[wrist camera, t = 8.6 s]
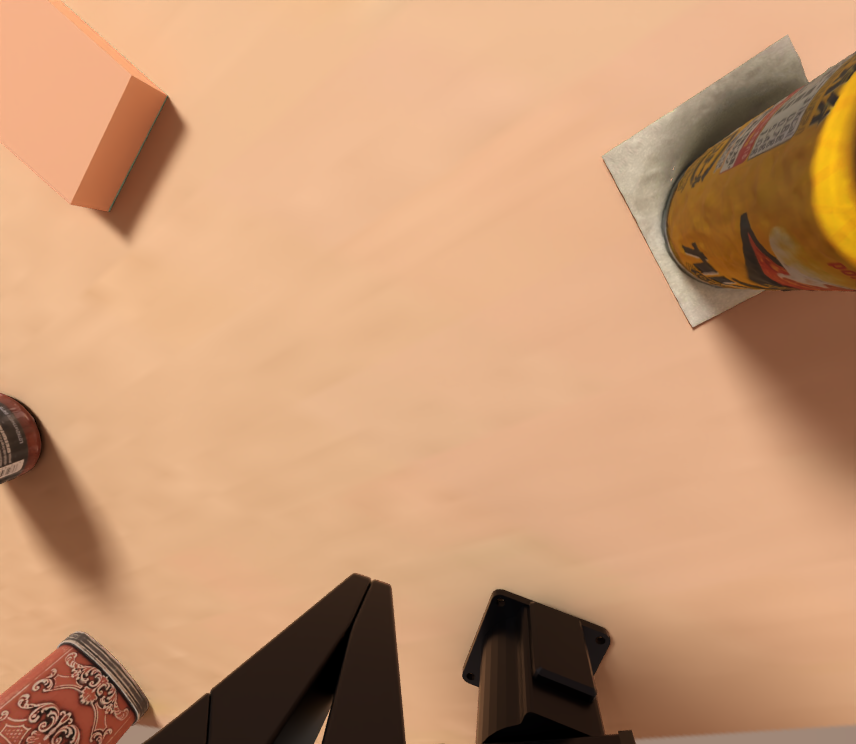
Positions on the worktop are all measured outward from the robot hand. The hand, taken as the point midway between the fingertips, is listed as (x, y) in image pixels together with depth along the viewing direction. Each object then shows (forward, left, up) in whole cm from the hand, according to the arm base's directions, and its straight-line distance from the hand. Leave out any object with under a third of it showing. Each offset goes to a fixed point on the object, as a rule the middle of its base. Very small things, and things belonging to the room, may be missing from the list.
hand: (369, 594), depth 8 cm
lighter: (-28, +18, -13) cm, 36 cm away
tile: (+8, +20, -12) cm, 24 cm away
